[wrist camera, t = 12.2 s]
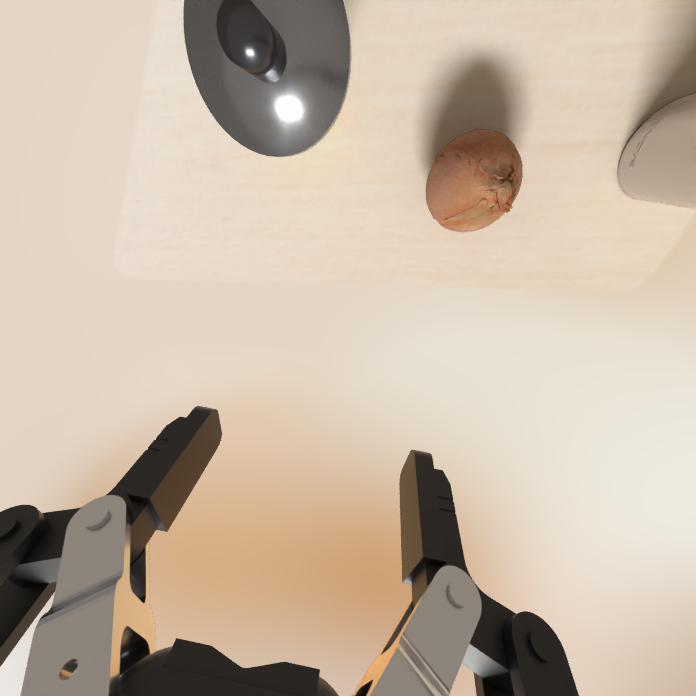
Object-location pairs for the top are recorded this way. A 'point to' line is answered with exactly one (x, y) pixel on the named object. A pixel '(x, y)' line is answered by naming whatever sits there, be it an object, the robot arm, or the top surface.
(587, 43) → the top surface
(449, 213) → the onion
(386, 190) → the top surface
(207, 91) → the lid
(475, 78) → the top surface
